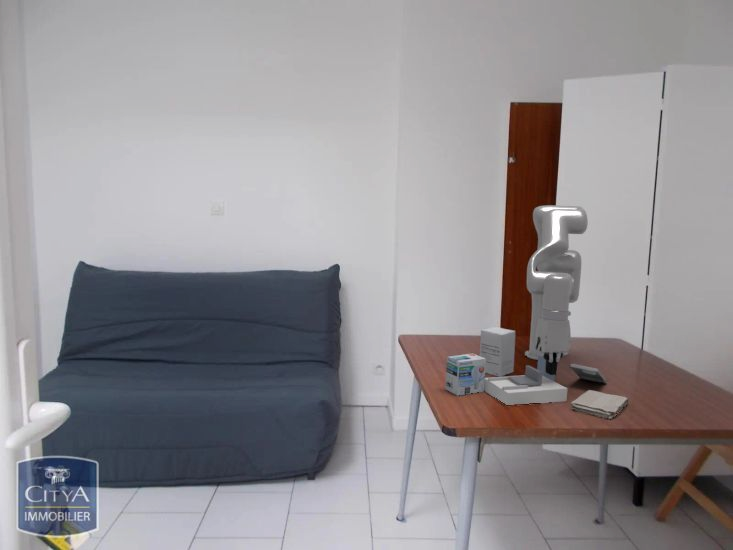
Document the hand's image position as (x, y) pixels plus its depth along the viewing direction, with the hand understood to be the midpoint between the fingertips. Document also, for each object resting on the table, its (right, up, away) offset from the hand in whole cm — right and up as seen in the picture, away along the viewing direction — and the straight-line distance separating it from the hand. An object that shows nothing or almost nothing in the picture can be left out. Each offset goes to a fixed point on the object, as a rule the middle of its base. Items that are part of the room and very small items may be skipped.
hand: (550, 373), depth 163 cm
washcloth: (+11, -9, -9) cm, 17 cm away
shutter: (-9, -2, -2) cm, 9 cm away
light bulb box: (-26, -6, +2) cm, 27 cm away
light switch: (+16, -6, +11) cm, 20 cm away
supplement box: (-11, -4, +23) cm, 26 cm away
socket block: (-9, -7, -1) cm, 11 cm away
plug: (+2, -5, +10) cm, 11 cm away
